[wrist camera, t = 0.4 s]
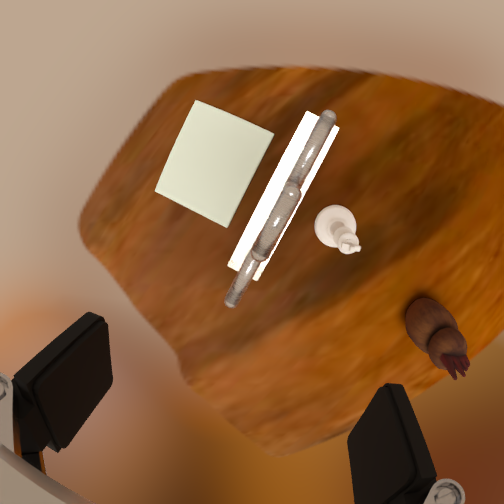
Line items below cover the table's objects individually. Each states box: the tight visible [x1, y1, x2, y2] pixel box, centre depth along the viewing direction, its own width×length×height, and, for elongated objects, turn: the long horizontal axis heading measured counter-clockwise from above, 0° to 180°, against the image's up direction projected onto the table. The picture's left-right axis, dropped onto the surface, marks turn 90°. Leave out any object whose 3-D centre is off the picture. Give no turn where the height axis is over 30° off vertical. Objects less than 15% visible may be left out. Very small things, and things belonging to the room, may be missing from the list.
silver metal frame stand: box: [224, 110, 339, 308], centre depth 25 cm, size 4×20×17 cm, turn 154°
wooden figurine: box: [405, 298, 470, 380], centre depth 27 cm, size 7×6×15 cm
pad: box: [155, 100, 274, 228], centre depth 32 cm, size 10×12×1 cm
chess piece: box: [315, 205, 361, 254], centre depth 28 cm, size 5×5×10 cm
